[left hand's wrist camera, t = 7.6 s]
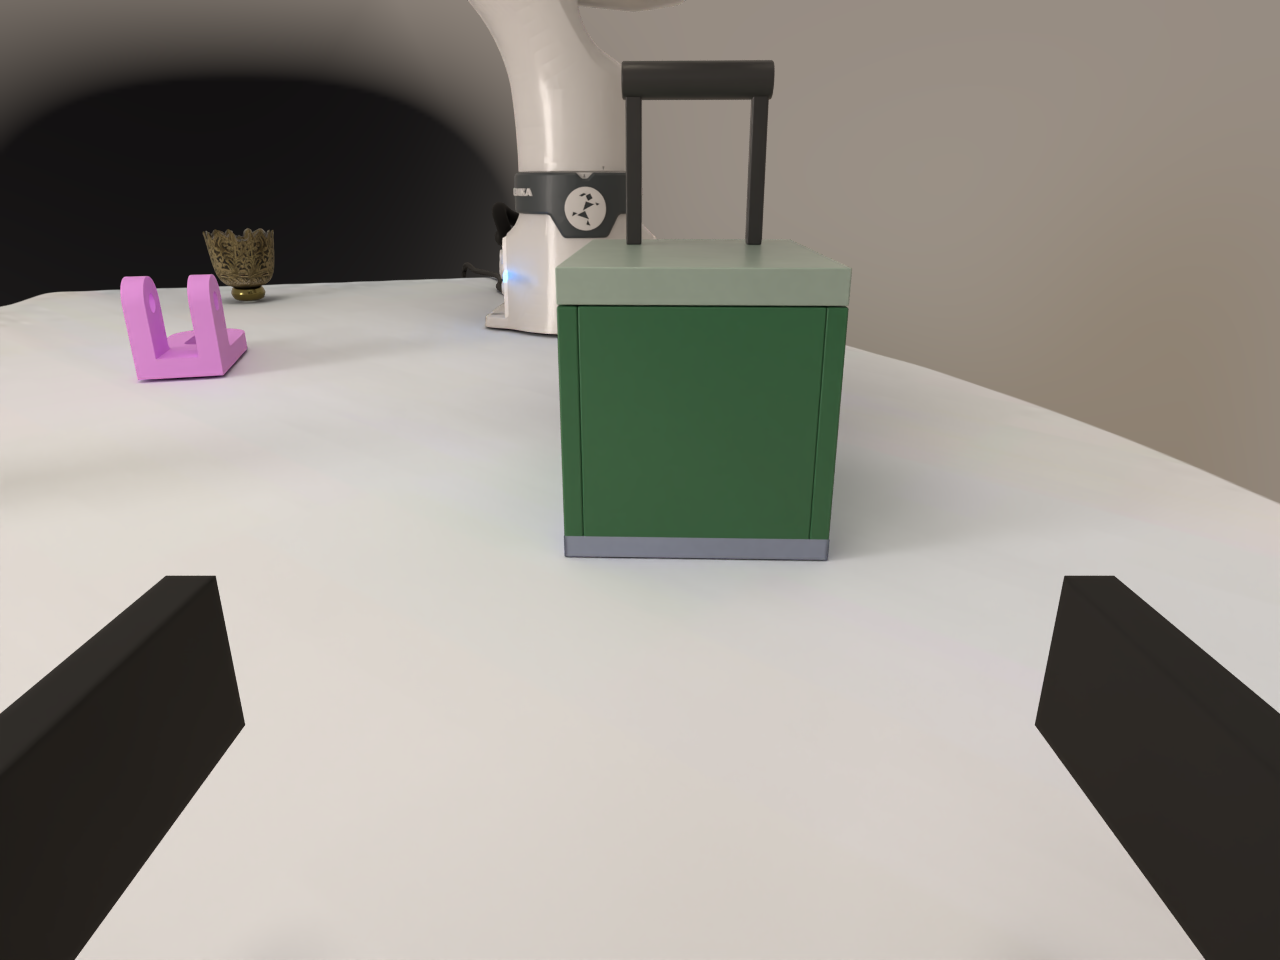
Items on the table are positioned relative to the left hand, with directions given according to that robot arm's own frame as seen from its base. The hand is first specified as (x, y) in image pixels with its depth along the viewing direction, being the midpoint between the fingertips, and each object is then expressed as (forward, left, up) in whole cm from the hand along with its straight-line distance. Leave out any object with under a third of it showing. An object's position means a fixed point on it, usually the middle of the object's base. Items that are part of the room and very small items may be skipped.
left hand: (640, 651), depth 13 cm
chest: (+19, -15, -7) cm, 25 cm away
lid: (+19, -15, +3) cm, 25 cm away
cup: (+99, -8, -7) cm, 100 cm away
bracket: (+63, +1, -7) cm, 64 cm away
